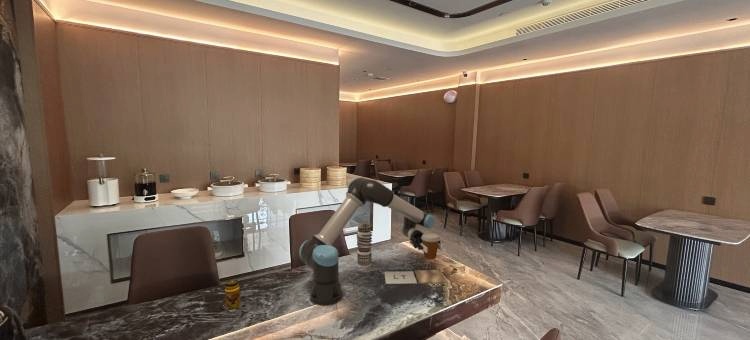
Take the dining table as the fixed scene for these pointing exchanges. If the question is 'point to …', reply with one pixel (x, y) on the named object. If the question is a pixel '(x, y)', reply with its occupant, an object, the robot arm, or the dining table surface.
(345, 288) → the dining table surface
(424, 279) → the oak coaster
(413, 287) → the dining table surface
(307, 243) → the robot arm
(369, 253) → the decorative candle
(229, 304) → the condiment
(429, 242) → the disposable coffee cup
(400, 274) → the mat
